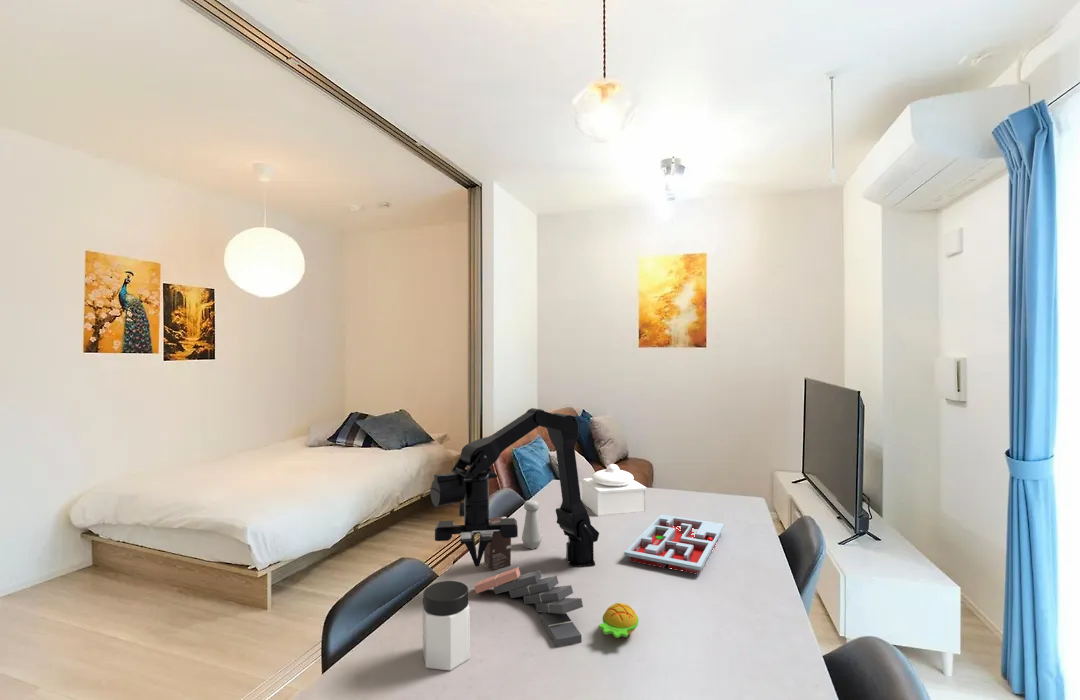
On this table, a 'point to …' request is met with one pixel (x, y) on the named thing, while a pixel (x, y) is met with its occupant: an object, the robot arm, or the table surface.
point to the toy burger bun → (619, 620)
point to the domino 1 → (497, 580)
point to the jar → (446, 625)
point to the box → (497, 549)
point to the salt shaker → (531, 525)
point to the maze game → (675, 543)
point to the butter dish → (613, 492)
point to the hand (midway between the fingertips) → (477, 566)
